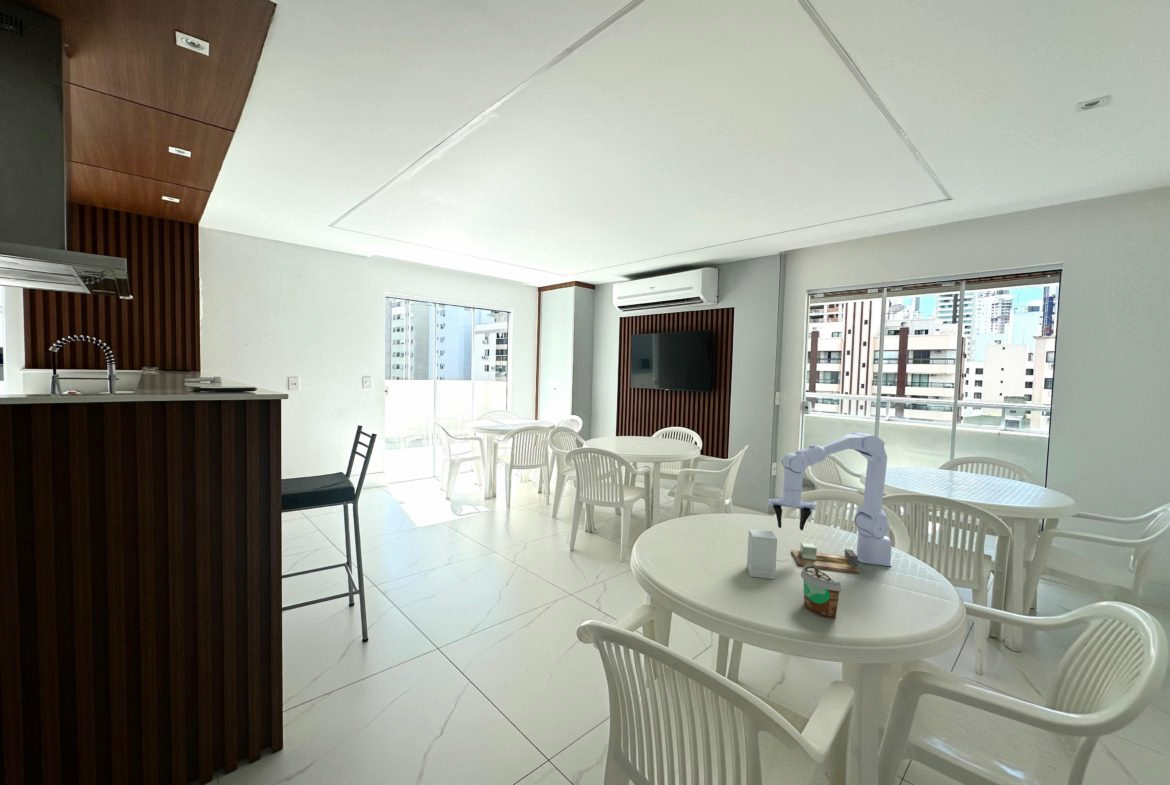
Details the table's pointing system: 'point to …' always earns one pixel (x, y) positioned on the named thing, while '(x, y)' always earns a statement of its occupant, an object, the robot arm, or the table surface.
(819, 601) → the food container
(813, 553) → the block
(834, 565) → the track board
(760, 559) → the supplement box
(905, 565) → the table surface
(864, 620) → the table surface
